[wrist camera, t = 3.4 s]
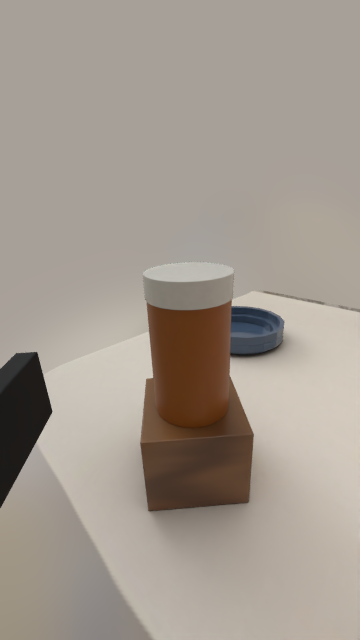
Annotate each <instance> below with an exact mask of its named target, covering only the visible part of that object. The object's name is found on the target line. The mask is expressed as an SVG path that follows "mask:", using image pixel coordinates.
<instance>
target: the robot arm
mask: <svg viewBox="0 0 360 640" xmlns="http://www.w3.org/2000/svg"><path fill="white" fill-rule="evenodd" d="M51 414H52V408H51V404H50V400H49V396H48V392H47V388H46V385H45V381H44V377H43V373H42V369H41V365H40V361H39V357H38V354H37V352H31V353H16V354H15V355H14V356H13V357H12V358H11V359H10V360H9V361H8V362H7V363H6V364H5V365H4V366H3V367H2V368H1V369H0V508H1V506H2V504H3V502H4V501H5V499H6V497H7V495H8V493H9V491H10V489H11V488H12V486H13V484H14V482H15V480H16V478H17V476H18V475H19V473H20V471H21V469H22V467H23V465H24V464H25V462H26V460H27V458H28V456H29V454H30V452H31V451H32V448H33V447H34V445H35V443H36V441H37V440H38V438H39V436H40V434H41V432H42V430H43V428H44V427H45V425H46V423H47V421H48V419H49V417H50V416H51Z"/></svg>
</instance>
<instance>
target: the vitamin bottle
mask: <svg viewBox="0 0 360 640" xmlns="http://www.w3.org/2000/svg"><path fill="white" fill-rule="evenodd" d="M143 282H144V293H145V300H146V301H147V311H148V322H149V334H150V345H151V357H152V368H153V380H154V391H155V403H156V409H157V411H158V413H159V415H160V416H161V417H162V418H163V419H164V420H166V421H167V422H169V423H171V424H173V425H176V426H180V427H186V428H198V427H204V426H208V425H211V424H213V423H215V422H217V421H218V420H220V419H221V418H222V417H223V416H224V415H225V413H226V412H227V410H228V406H229V373H230V339H231V305H232V298H233V286H234V270H233V268H231V267H229V266H226V265H222V264H215V263H203V262H187V263H173V264H166V265H160V266H156V267H152V268H150V269H147V270H145V271H144V272H143Z"/></svg>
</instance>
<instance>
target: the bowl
mask: <svg viewBox="0 0 360 640" xmlns="http://www.w3.org/2000/svg"><path fill="white" fill-rule="evenodd" d="M283 330H284V320H283V319H282V318H281V317H280V316H279V315H277V314H275V313H273V312H271V311H267V310H264V309H260V308H253V307H244V306H231V339H230V353H231V354H241V355H248V354H257V353H262V352H265V351H267V350H270V349H273V348H275V347H277V346H278V345H279V344H280V343H281V342H282V339H283Z"/></svg>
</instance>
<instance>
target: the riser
mask: <svg viewBox="0 0 360 640" xmlns="http://www.w3.org/2000/svg"><path fill="white" fill-rule="evenodd" d="M253 437H254V434H253V431H252V429H251V427H250V424H249V422H248V419H247V417H246V414H245V412H244V409H243V407H242V404H241V402H240V399H239V397H238V395H237V392H236V390H235V387H234V385H233V382H232V380H231V377H230V375H229V406H228V410H227V412H226V413H225V415H224V416H223V417H222V418H221V419H220V420H218V421H217V422H215V423H213V424H211V425H208V426H204V427H198V428H186V427H180V426H176V425H173V424H171V423H169V422H167V421H166V420H164V419H163V418H162V417H161V416H160V415H159V413H158V411H157V409H156V403H155V391H154V380H153V378H151V379H146V387H145V398H144V409H143V420H142V431H141V442H140V444H141V452H142V460H143V469H144V477H145V485H146V494H147V502H148V510H149V511H153V510H165V509H176V508H188V507H199V506H211V505H222V504H234V503H245V502H249V492H250V478H251V464H252V451H253Z"/></svg>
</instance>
